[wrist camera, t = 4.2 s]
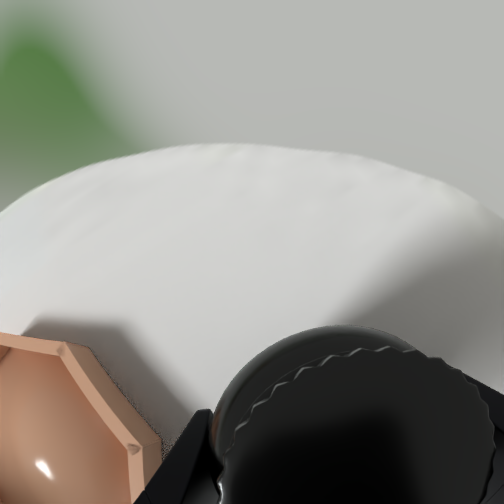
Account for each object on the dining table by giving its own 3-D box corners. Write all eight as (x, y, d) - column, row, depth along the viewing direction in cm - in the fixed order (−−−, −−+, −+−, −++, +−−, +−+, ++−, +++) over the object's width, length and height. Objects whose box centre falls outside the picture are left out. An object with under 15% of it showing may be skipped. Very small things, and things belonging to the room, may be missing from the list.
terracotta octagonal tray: (226, 500, 13) (216, 518, 11) (76, 585, 9) (59, 596, 7) (55, 292, 18) (32, 280, 16) (-39, 418, 15) (-59, 416, 13)
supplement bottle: (402, 404, 14) (576, 417, 3) (313, 498, 12) (348, 656, 1) (308, 324, 16) (352, 203, 5) (217, 418, 15) (77, 480, 4)
